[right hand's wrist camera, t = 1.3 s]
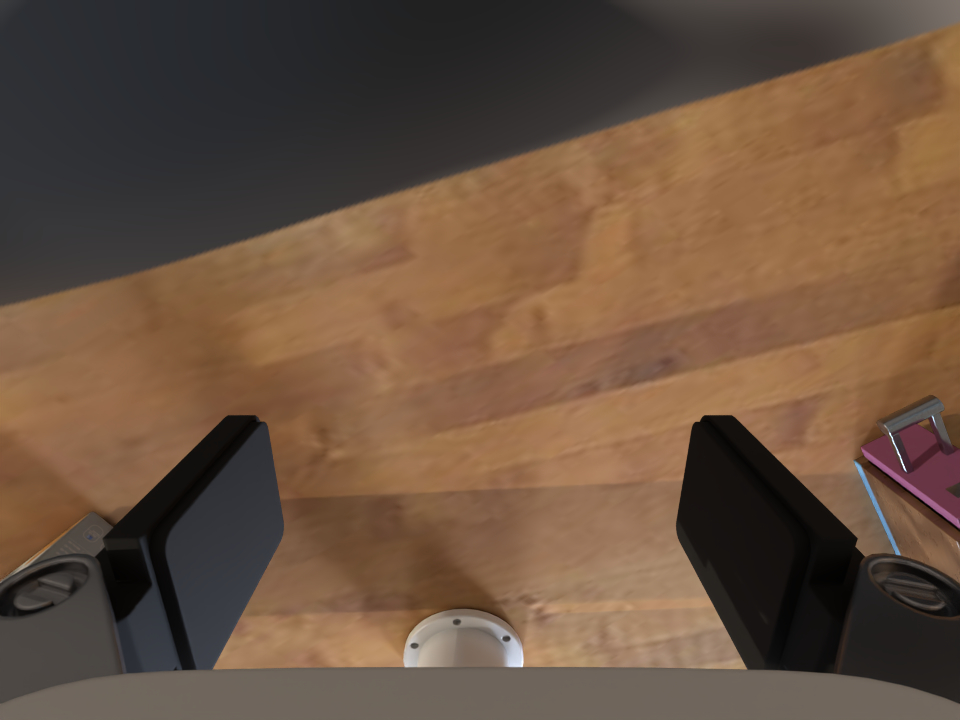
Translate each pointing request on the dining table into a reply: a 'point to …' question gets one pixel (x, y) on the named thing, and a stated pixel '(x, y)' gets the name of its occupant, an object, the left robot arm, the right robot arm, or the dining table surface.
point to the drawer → (920, 457)
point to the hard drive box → (74, 541)
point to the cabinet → (911, 522)
